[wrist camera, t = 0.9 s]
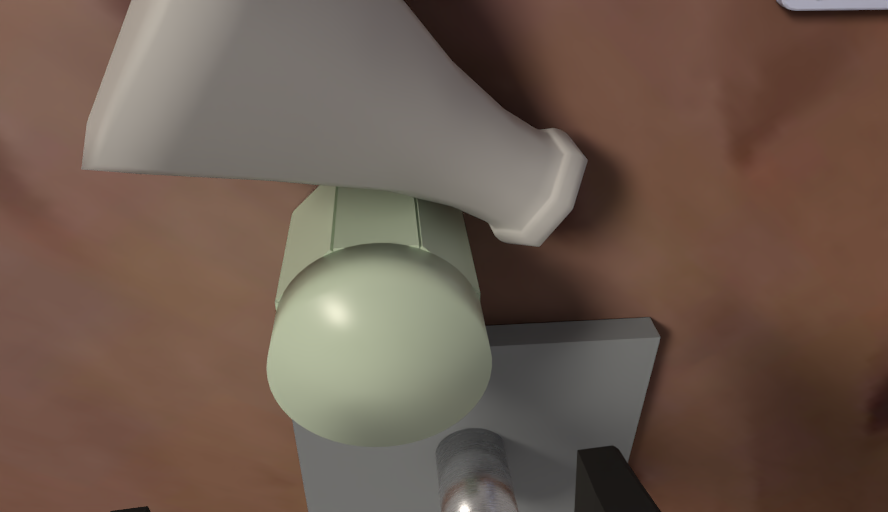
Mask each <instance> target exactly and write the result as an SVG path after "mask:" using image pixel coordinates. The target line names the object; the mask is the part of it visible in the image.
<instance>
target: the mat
mask: <svg viewBox="0 0 888 512" xmlns="http://www.w3.org/2000/svg"><path fill="white" fill-rule="evenodd" d="M486 331H487V336H488V340H489V345H490V350H491V355H492V370H491V376H490V380H489V382H488V385H487V388H486V390H485V392H484V394H483V396H482V397H481V399H480V400H479V401H478V403H477V404H476V406H475V407H474V408H473V409H472V410H471V411H470V412H469V413H468V414H467V415H466V416H465V417H463V418H462V419H461V420H460V421H459V422H457V423H456V424H454V425H453V426H451V427H449V428H448V429H446V430H444V431H442V432H440V433H438V434H436V435H434V436H431V437H429V438H426V439H423V440H420V441H416V442H413V443H408V444H403V445H398V446H388V447H363V446H354V445H348V444H343V443H339V442H335V441H332V440H329V439H326V438H323V437H321V436H318V435H316V434H314V433H312V432H310V431H308V430H307V429H305V428H304V427H302V426H300V425H299V424H298V423H296V422H295V421H294V420H293V419H292V421H293V427H294V433H295V439H296V444H297V450H298V456H299V461H300V467H301V473H302V478H303V484H304V490H305V495H306V501H307V507H308V512H441V507H440V497H439V487H438V477H437V467H436V457H435V452H436V448H437V446H438V444H439V443H440V442H441V441H442V440H443V439H444V438H445V437H446V436H448V435H449V434H451V433H453V432H456V431H459V430H462V429H468V428H482V429H486V430H490V431H492V432H494V433H496V434H497V435H499V436H500V437H501V439H502V440H503V442H504V445H505V450H506V455H507V460H508V464H509V469H510V474H511V479H512V484H513V488H514V493H515V498H516V503H517V508H518V512H574V508H575V487H576V467H577V450H581V449H589V448H596V447H604V446H611V445H613V446H615V447H616V448H618V449H619V450H620V452H621V453H622V455H623V457H624V458H625V460H626V461H627V463H628V460H629V456H630V452H631V448H632V445H633V441H634V437H635V433H636V429H637V425H638V422H639V418H640V414H641V410H642V406H643V403H644V399H645V395H646V391H647V387H648V383H649V380H650V376H651V372H652V368H653V364H654V360H655V357H656V353H657V349H658V345H659V341H660V338H661V337H660V335H659V333H658V332H657V330H656V328H655V326H654V324H653V322H652V321H651V319H650V317H646V318H627V319H607V320H588V321H569V322H550V323H530V324H511V325H492V326H486Z"/></svg>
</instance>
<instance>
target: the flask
mask: <svg viewBox="0 0 888 512" xmlns="http://www.w3.org/2000/svg"><path fill="white" fill-rule="evenodd" d="M587 161H588V160H587V158H586V157H585V156H584V155H583V153H582V152H581V151H580V149H579V148H578V147H577V146H576V144H575V143H574V142H573V141H572V139H571V138H570V137H569V135H568V134H567V133H565V132H564V131H562V130H560V129H556V128H549V129H540V130H538V129H536V128H534V127H532V126H531V125H529V124H528V123H526V122H524V121H523V120H521V119H520V118H518V117H516V116H515V115H513V114H512V113H510V112H508V111H507V110H505V109H504V108H503V107H502V106H501V105H499V104H498V103H497V102H496V101H495V100H494V99H493V98H492V97H491V96H490V95H489V94H487V93H486V92H485V91H484V90H483V89H482V88H481V87H480V86H479V85H478V84H477V83H476V82H474V81H473V80H472V79H471V78H470V77H469V76H468V75H467V74H466V73H465V72H464V71H462V70H461V69H460V68H459V67H458V66H457V65H456V64H455V63H454V62H453V61H452V60H451V59H450V58H449V56H448V55H447V54H446V53H445V51H444V50H443V49H442V48H441V46H440V45H439V44H438V43H437V41H436V40H435V39H434V38H433V37H432V35H431V34H430V33H429V32H428V30H427V29H426V28H425V27H424V25H423V24H422V23H421V22H420V20H419V19H418V18H417V17H416V15H415V14H414V13H413V12H412V10H411V9H410V8H409V7H408V5H407V4H406V3H405V2H404V0H131V3H130V6H129V9H128V11H127V14H126V17H125V20H124V22H123V25H122V28H121V31H120V33H119V36H118V39H117V42H116V44H115V47H114V50H113V52H112V55H111V58H110V61H109V63H108V66H107V69H106V72H105V74H104V77H103V80H102V83H101V85H100V88H99V91H98V94H97V96H96V99H95V102H94V105H93V107H92V110H91V113H90V116H89V118H88V121H87V127H86V135H85V144H84V152H83V161H82V169H84V170H97V171H109V172H122V173H135V174H151V175H171V176H190V177H209V178H228V179H247V180H266V181H279V182H290V183H302V184H313V185H325V186H337V187H348V188H360V189H371V190H383V191H389V192H393V193H398V194H402V195H406V196H410V197H414V198H418V199H423V200H427V201H431V202H435V203H439V204H444V205H448V206H452V207H454V208H457V209H459V210H461V211H463V212H466V213H468V214H470V215H472V216H475V217H477V218H479V219H482V220H484V221H486V222H487V223H489V225H490V227H491V229H492V231H493V233H494V235H495V236H496V237H497V238H498V239H499V240H500V241H502V242H505V243H509V244H518V245H527V246H537V247H540V245H541V244H542V243H543V242H544V241H545V240H546V239H547V238H548V237H549V235H550V234H551V233H552V232H553V231H554V230H555V229H556V228H557V226H558V225H559V224H560V223H561V222H562V221H563V220H564V219H565V217H566V216H567V215H568V214H569V213H570V212H571V211H572V210H573V207H574V204H575V201H576V197H577V194H578V191H579V187H580V184H581V181H582V178H583V174H584V171H585V168H586V165H587Z"/></svg>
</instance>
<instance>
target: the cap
mask: <svg viewBox="0 0 888 512" xmlns="http://www.w3.org/2000/svg"><path fill="white" fill-rule="evenodd" d="M275 307H276V315H275V321H274V326H273V331H272V337H271V342H270V347H269V353H268V359H267V377H268V382H269V386H270V389H271V391H272V393H273V395H274V398H275V400H276V401H277V402H278V404H279V405H280V407H281V408H282V409H283V410H284V412H285V413H286V414H287V415H288V416H289V417H290V418H291V419H293V420H294V421H295V422H296V423H298V424H299V425H300V426H302V427H304V428H305V429H307V430H308V431H310V432H312V433H314V434H316V435H318V436H321V437H323V438H326V439H329V440H332V441H335V442H339V443H343V444H348V445H354V446H363V447H388V446H398V445H403V444H408V443H413V442H416V441H420V440H423V439H426V438H429V437H431V436H434V435H436V434H438V433H440V432H442V431H444V430H446V429H448V428H449V427H451V426H453V425H454V424H456V423H457V422H459V421H460V420H461V419H462V418H463V417H465V416H466V415H467V414H468V413H469V412H470V411H471V410H472V409H473V408H474V407H475V406H476V404H477V403H478V401H479V400H480V399H481V397H482V396H483V394H484V392H485V390H486V388H487V385H488V382H489V380H490V376H491V370H492V355H491V350H490V345H489V340H488V336H487V331H486V326H485V322H484V317H483V313H482V308H481V304H480V289H479V285H478V280H477V276H476V271H475V267H474V262H473V258H472V254H471V249H470V245H469V240H468V236H467V231H466V227H465V222H464V218H463V213H462V211H461V210H459V209H457V208H454V207H452V206H448V205H444V204H439V203H435V202H431V201H427V200H423V199H418V198H414V197H410V196H406V195H402V194H398V193H393V192H389V191H383V190H371V189H360V188H348V187H337V186H325V185H319V186H318V187H317V188H316V189H315V190H314V191H313V192H312V193H311V194H310V195H309V196H308V197H307V198H306V199H305V200H304V201H303V202H302V203H301V204H300V205H299V206H298V207H297V208H296V209H295V210H294V211H293V214H292V217H291V222H290V227H289V232H288V237H287V243H286V248H285V253H284V258H283V263H282V269H281V274H280V279H279V284H278V289H277V294H276V300H275Z"/></svg>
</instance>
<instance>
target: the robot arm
mask: <svg viewBox="0 0 888 512" xmlns="http://www.w3.org/2000/svg"><path fill="white" fill-rule="evenodd" d="M776 1H777V2H778V3H779V4H780V5H781V6H782V7H784V8H787V9H789V10H794V11H814V10H888V0H776ZM110 512H150V510H149V508H148V506H146V507H138V508H131V509H123V510H115V511H110ZM574 512H661V511H660V509H659V508H658V507H657V505H656V504H655V503H654V501H653V500H652V498H651V497H650V495H649V494H648V493H647V491H646V490H645V488H644V487H643V485H642V484H641V483H640V481H639V480H638V478H637V477H636V475H635V474H634V472H633V471H632V469H631V467H630V466H629V464H628V463H627V461H626V460H625V458H624V457H623V455H622V453H621V452H620V450H619V449H618V448H616V447H615V446H613V445H611V446H604V447H596V448H589V449H581V450H577V467H576V487H575V508H574Z"/></svg>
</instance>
